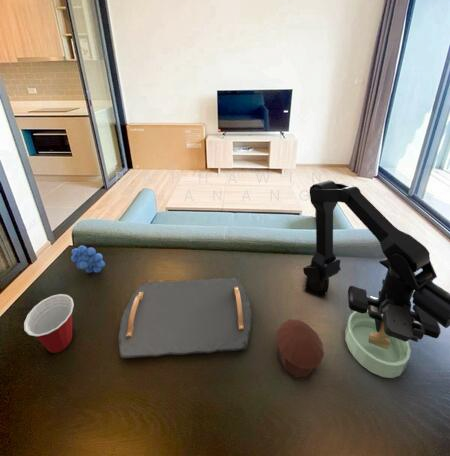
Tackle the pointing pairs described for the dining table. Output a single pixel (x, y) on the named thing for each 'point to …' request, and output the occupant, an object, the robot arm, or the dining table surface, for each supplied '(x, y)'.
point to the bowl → (375, 347)
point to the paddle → (379, 338)
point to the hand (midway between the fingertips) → (382, 331)
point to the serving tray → (185, 318)
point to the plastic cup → (51, 322)
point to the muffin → (299, 348)
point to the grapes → (87, 259)
